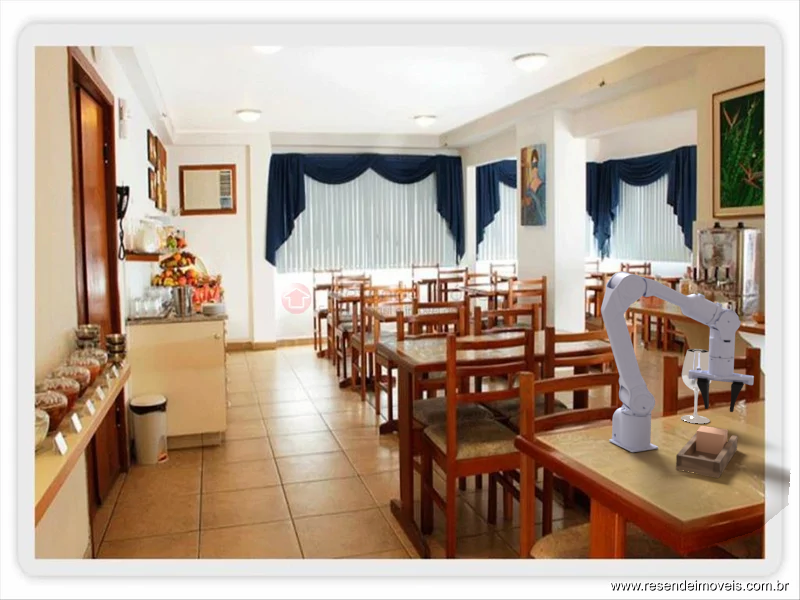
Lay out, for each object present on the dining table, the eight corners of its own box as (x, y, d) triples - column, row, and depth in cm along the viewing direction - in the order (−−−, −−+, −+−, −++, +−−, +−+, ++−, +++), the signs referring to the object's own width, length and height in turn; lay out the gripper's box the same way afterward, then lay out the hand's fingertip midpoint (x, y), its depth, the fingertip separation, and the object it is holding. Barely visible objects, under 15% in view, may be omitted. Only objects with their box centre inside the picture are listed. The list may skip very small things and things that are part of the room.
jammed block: (700, 445, 167) (701, 425, 167) (726, 449, 164) (727, 429, 163) (695, 450, 163) (696, 430, 163) (722, 455, 160) (723, 435, 159)
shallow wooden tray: (698, 443, 172) (698, 429, 171) (736, 449, 167) (737, 436, 166) (675, 469, 154) (676, 455, 154) (718, 478, 149) (719, 462, 149)
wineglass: (703, 415, 195) (705, 347, 193) (715, 424, 187) (718, 353, 185) (676, 416, 195) (678, 348, 193) (686, 424, 188) (689, 353, 185)
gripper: (687, 356, 167) (685, 409, 169) (752, 362, 160) (750, 417, 161) (691, 351, 173) (689, 402, 175) (755, 356, 166) (752, 410, 167)
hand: (719, 409), depth 169 cm, fingers open, 5 cm apart
